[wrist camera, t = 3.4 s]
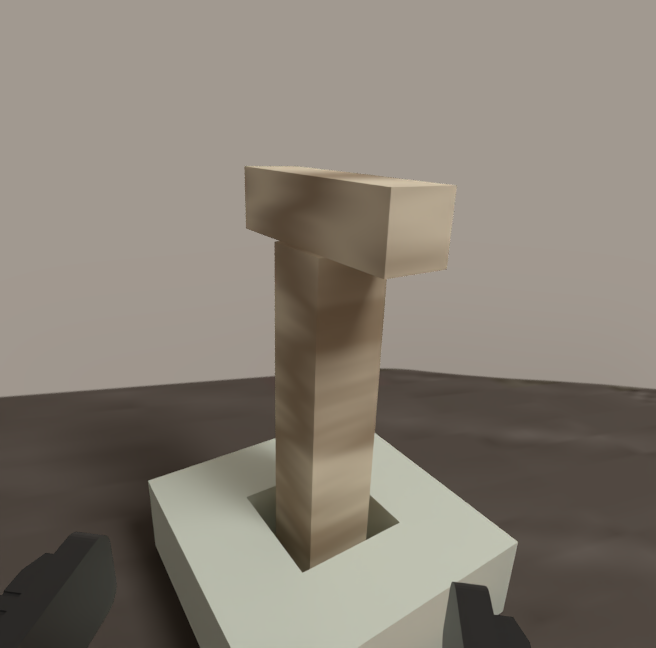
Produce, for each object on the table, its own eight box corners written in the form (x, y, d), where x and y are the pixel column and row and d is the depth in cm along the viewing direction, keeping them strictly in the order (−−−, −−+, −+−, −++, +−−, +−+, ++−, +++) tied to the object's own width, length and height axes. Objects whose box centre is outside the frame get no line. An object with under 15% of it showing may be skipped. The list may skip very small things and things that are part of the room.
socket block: (155, 545, 25) (147, 480, 23) (346, 468, 31) (349, 413, 30) (263, 792, 16) (261, 710, 14) (502, 611, 22) (517, 541, 21)
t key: (249, 529, 26) (238, 166, 20) (297, 508, 28) (302, 166, 21) (348, 674, 19) (384, 187, 13) (405, 635, 21) (462, 185, 14)
